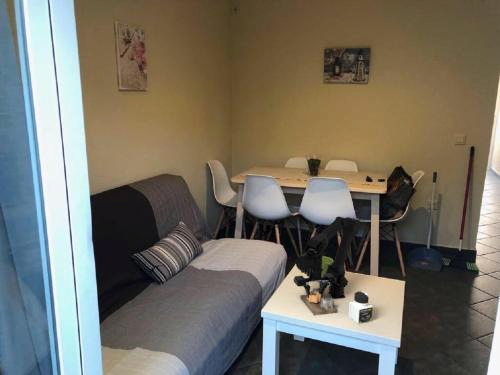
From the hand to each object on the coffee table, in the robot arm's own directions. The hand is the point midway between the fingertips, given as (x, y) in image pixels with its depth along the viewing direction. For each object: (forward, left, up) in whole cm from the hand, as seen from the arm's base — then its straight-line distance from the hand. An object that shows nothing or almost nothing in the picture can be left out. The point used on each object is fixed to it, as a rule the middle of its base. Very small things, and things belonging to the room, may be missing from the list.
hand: (313, 297), depth 188 cm
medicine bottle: (-15, +16, -4) cm, 22 cm away
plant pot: (-15, -26, -4) cm, 30 cm away
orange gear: (0, 0, -1) cm, 1 cm away
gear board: (-2, +1, -4) cm, 4 cm away
